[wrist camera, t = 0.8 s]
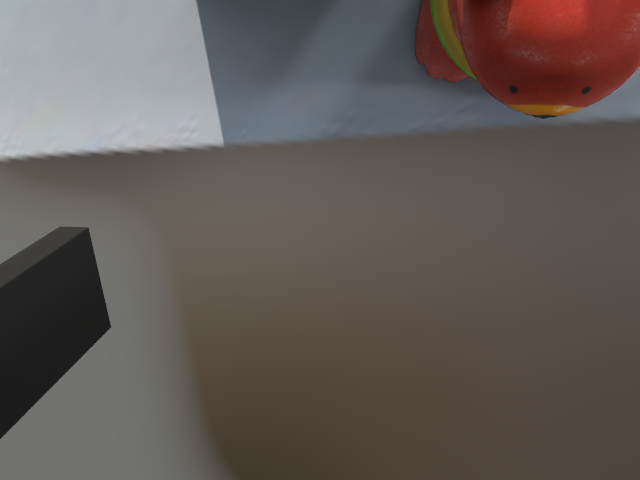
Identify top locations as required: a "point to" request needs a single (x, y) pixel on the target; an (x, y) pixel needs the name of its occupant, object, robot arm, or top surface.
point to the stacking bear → (532, 49)
